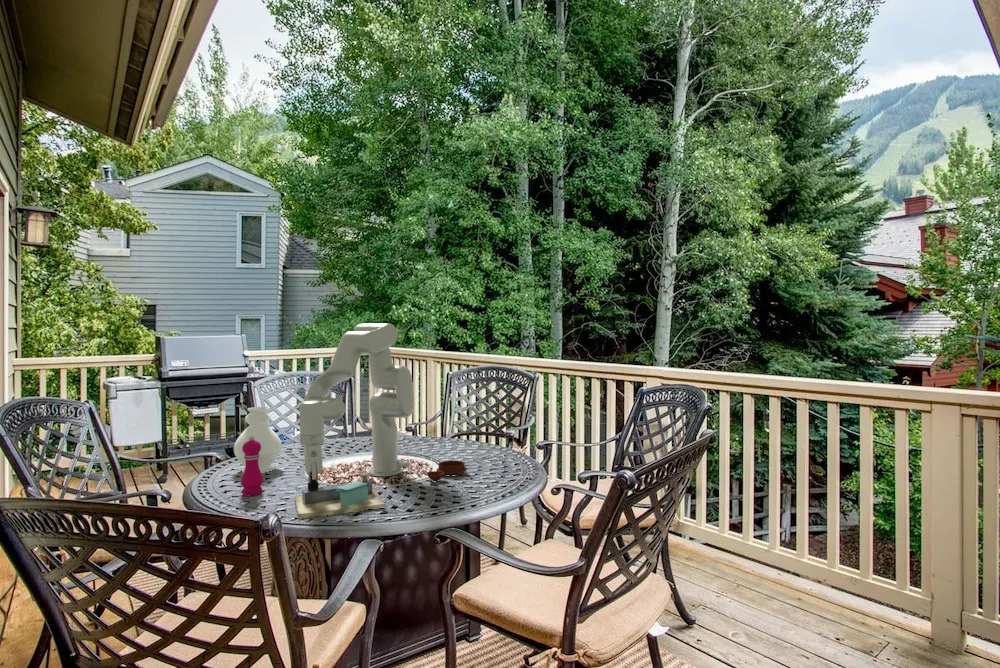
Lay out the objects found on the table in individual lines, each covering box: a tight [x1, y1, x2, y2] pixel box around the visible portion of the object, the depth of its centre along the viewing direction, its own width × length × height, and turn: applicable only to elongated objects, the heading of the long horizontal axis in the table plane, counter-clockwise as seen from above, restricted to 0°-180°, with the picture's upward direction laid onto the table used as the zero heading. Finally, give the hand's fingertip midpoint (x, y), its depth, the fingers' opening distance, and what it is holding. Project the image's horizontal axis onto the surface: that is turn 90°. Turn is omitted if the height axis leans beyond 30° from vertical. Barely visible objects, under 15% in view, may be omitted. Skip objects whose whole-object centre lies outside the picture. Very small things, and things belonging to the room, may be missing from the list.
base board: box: [294, 473, 386, 520], centre depth 192 cm, size 26×20×8 cm
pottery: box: [426, 460, 468, 481], centre depth 226 cm, size 12×20×4 cm, turn 152°
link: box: [301, 480, 374, 504], centre depth 194 cm, size 22×5×4 cm, turn 121°
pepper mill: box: [240, 436, 264, 497], centre depth 205 cm, size 7×7×20 cm
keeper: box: [336, 480, 368, 506], centre depth 190 cm, size 9×5×5 cm, turn 147°
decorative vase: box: [233, 406, 283, 474], centre depth 238 cm, size 18×18×25 cm
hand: (313, 494), depth 194 cm, fingers closed
